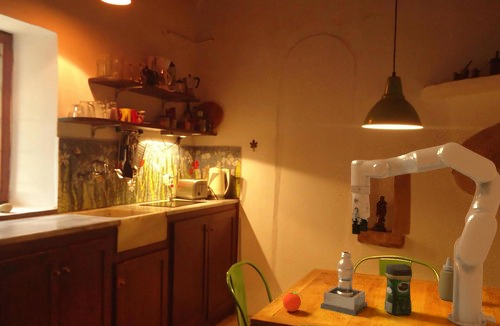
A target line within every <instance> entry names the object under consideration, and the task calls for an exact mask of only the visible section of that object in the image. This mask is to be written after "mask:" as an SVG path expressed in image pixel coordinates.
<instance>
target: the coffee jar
mask: <svg viewBox="0 0 500 326" xmlns="http://www.w3.org/2000/svg"><path fill="white" fill-rule="evenodd" d="M384 273H385V277H386V291H385V292H386V293H385V299H384V310H385V312H387V314H391V315H394V316H405V315H407V316H408V315H411V314H412V299H411V298H412V297H411V296H412V295H411V281H412V278H413V272H412V267H411V266H410V265H408V264H406V263H396V264H393V263H391V264H386V266H385V272H384Z"/></svg>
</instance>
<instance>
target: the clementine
mask: <svg viewBox="0 0 500 326" xmlns="http://www.w3.org/2000/svg"><path fill="white" fill-rule="evenodd" d="M282 298H283V299H282V306H283V307H284V309H285V310H286V311H288V312H291V313H293V312H296V311H298V310H299V309H300V307H301V305H302V301H301V298H302V299H303V297H301V296H300V295H299V292H288V293H286V294H285V295H284V296H283V297H282Z"/></svg>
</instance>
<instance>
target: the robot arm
mask: <svg viewBox="0 0 500 326" xmlns="http://www.w3.org/2000/svg"><path fill="white" fill-rule="evenodd" d="M444 168H445V169H446V168H452V169H453V170H455V171H456V172H459V173H460V174H462V175H464V176H466V177H468V178H470V179H471V180H472V181H474V183H475V192H474V195H473V199H472V201H471V203H470V206H469V209H468V212H467V213H466V216H465V218H464V223H465V225H464V226H463V230H462V232H461V235H460V237H458V238H457V239H456V240H455V243H454V245H453V266H454V277H453V301H452V311H451V313H448V314H447V320H448V321H450V322H451V323H453V324H455V325H458V326H487V323H491V324H496V321H497V320H496V317H493V316H492V315H488V314H487V315H486V313H484V310H483V309H482V307H483V303H482V302H483V281H484V277H483V276H484V275H483V274H484V272H483V271H484V267H483V266H484V262H485V260H486V259H487V256H488V254H489V252H490V249H491V248H492V244H493V241H494V239H495V235H496V234H497V229H498V220H497V218H496V217H497V213H498V209H499V207H500V174H499V172H498V171H497V168H496V165H495V163H494V162H493V161H492V160H490V159H489V158H486V157H485V156H483V155H481V154H478V153H476V152H474V151H473V150H470V149H468V148H467V147H465V146H463V145H462V144H460V143H457V142H447V143H444V144H442V145H436V146H432V147H426V148H421V149H416V150H414V151H410V152H408V153H406V154H402V155H400V156H399V155H398V156H395V157H394V156H393V157H390V158H385V159H372V160H371V159H370V160H366V159H355V160H352V162H351V163H350V195H351V196H352V199H351V234H352V235H359V236H360V235H361V232H363V233H364V232H366V233H367V232H369V231H368V230H369V229H368V227H369V225H368V224H369V223H368V222H369V220H368V219H369V218H370V217H371V211H370V209H371V205H370V195H371V178H373V179H374V178H375V179H385V178H390V177H395V176H396V177H397V176H401V175H407V174H417V173H423V172H430V171H433V170H438V169H444Z"/></svg>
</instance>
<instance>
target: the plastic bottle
mask: <svg viewBox="0 0 500 326" xmlns="http://www.w3.org/2000/svg"><path fill="white" fill-rule="evenodd" d="M340 257H341V258H340V259H339V261H338V262H337V265H336V266H337V267H336V269H337V278H338V280H337V281H338V283H337V286H338V290H337V294H338V295H343V296H348V297H354V296H353V289H354V288H353V278H354V271H355V264H354V263H353V261H352V259H351V258H352V252H350V251H341V253H340Z"/></svg>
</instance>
